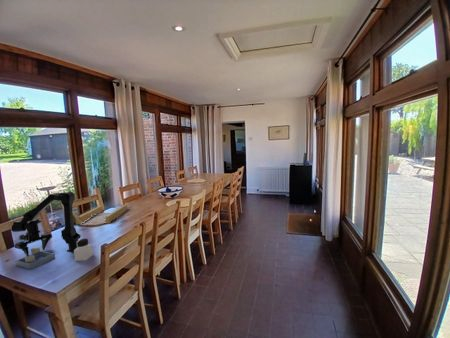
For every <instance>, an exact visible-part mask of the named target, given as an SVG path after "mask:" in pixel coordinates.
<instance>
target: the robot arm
mask: <svg viewBox="0 0 450 338" xmlns="http://www.w3.org/2000/svg"><path fill="white" fill-rule="evenodd" d="M75 198H76V197H75V193H74V192H73V191H67V192H53V193H50V194H48V196H47V197H46V198H44V199H43V200H42V201H41V202H40V203H39V204H38V205H36V206H35V207H34V208H33V209H30V210H29V211H27V212H25V213H24V214H23V216H22V217H23V218H22V219H21V220H15V221H13V223H12V226H11V228H10V229H11V232H13V233H19V232H25V234H20V235H18V239H19V241H20V242H16V243H15V244H14V246H13V247H14V249H18V250H22V252H23V253H24V254H25V257H27V256H29V254H30V253H29V252H30V251H29V246H28V245H30V244H33V243H36V242H39V241H40V242H41V247H42V248H41V249H42V251H45V249H46V247H47V245H48V243H49V242H50V241H49V240H51V239H52V238H53V235H52V233H49V232H48V233H47V232H46V233H43V234H42V233H41V230H39V224H40V223H42V220H40V219H37V218H39V217H40V215H41V214H42V212H43V210H45V208H47V207H48V206H50V205H51V204H52V203H53V202H54V201H59V202H60V203H61V204H62V206H63V216H64V228H63V229H62V230H61V231H60V233H61V236H60V237H61V238H62V240H64V242H65V244H66V245H67V247H68V249H66V251H67V252H70V253H74V250H75V249H76V248H77V241H78V240H80V239H81V234H79V233H78V232H77V230H76V227H75V226H74V223H73V211H74V208H73V204H74V202H75ZM40 233H41V235H40Z"/></svg>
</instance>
